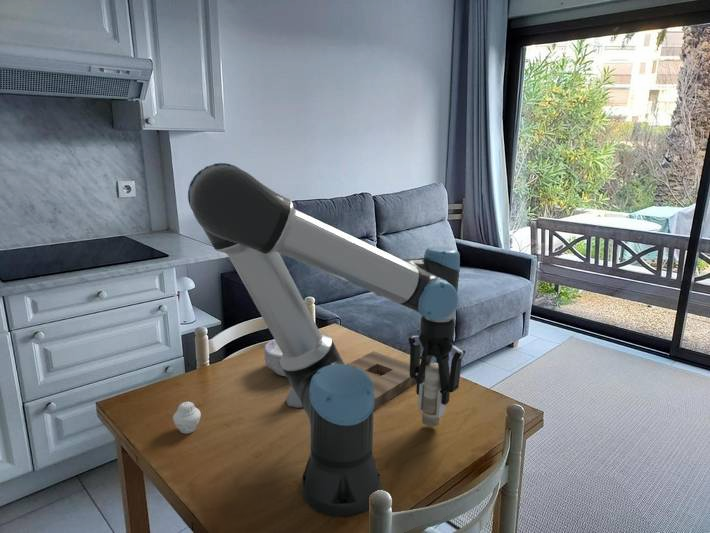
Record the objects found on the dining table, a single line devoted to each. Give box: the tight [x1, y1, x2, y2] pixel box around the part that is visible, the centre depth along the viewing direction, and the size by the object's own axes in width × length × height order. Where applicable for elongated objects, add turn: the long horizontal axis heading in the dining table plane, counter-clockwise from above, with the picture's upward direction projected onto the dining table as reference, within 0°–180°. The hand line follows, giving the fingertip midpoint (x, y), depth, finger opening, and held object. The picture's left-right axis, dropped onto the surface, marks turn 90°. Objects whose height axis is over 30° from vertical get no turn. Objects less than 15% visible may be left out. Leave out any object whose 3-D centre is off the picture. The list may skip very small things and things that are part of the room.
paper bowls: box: [263, 338, 287, 377], centre depth 144 cm, size 15×15×8 cm
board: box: [346, 351, 417, 411], centre depth 138 cm, size 24×18×3 cm
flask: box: [285, 385, 303, 409], centre depth 127 cm, size 7×7×10 cm
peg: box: [421, 362, 441, 427], centre depth 115 cm, size 4×4×14 cm
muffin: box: [172, 401, 202, 434], centre depth 114 cm, size 6×6×7 cm
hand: (431, 411), depth 116 cm, fingers closed on peg, 4 cm apart
